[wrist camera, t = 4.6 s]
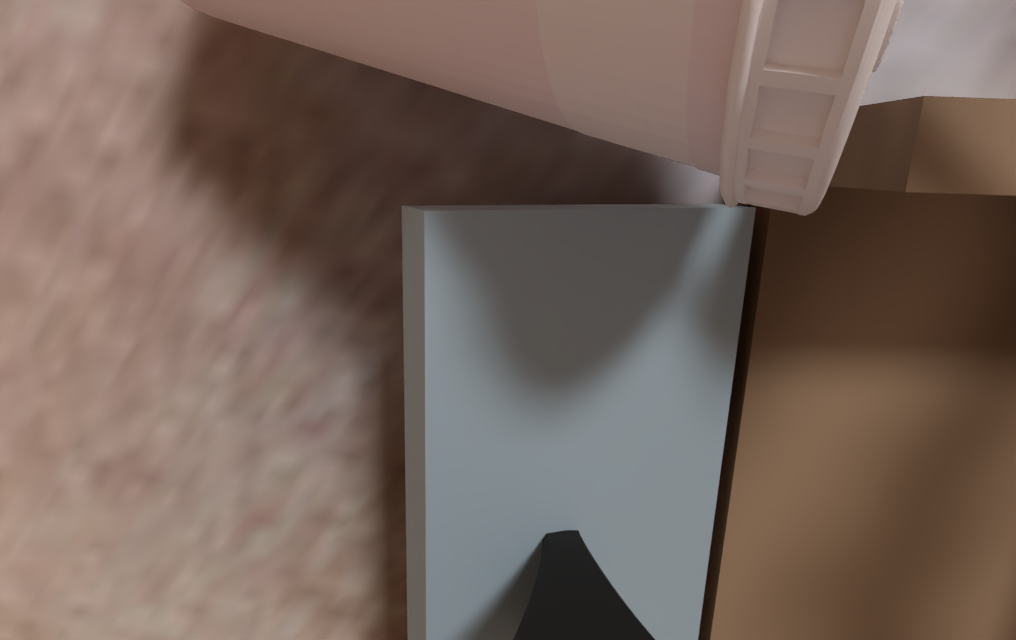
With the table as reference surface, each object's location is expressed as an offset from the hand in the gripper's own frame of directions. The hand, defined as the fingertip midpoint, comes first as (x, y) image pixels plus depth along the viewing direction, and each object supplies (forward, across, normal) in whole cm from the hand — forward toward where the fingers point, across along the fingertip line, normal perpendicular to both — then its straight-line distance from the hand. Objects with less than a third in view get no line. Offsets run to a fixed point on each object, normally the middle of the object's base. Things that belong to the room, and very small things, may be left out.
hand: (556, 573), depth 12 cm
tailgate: (+2, -4, 0) cm, 4 cm away
